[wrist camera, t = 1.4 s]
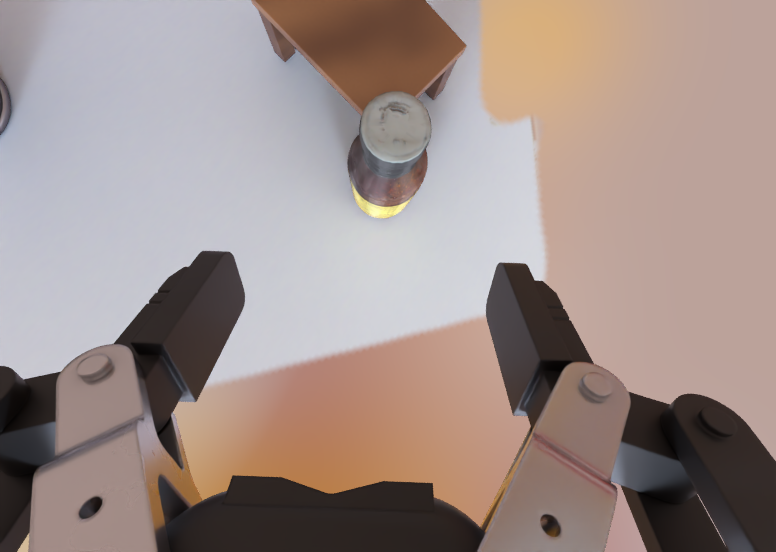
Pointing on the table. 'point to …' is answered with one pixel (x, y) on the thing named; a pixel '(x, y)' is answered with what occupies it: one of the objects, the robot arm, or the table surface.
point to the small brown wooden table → (366, 44)
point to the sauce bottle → (389, 153)
